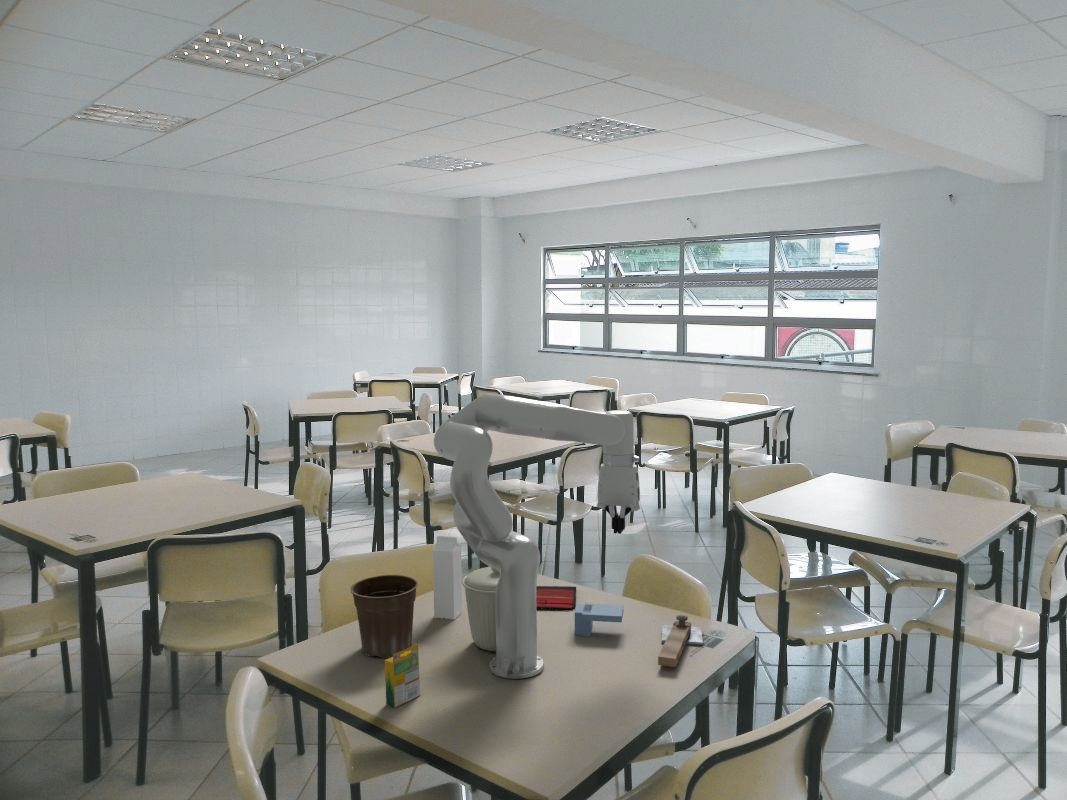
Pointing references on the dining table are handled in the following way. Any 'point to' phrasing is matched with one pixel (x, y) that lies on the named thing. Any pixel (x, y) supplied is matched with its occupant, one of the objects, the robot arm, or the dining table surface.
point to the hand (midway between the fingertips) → (618, 532)
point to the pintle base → (693, 637)
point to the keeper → (595, 616)
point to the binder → (556, 597)
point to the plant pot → (385, 613)
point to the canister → (482, 606)
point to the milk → (447, 578)
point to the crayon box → (402, 676)
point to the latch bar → (675, 642)
